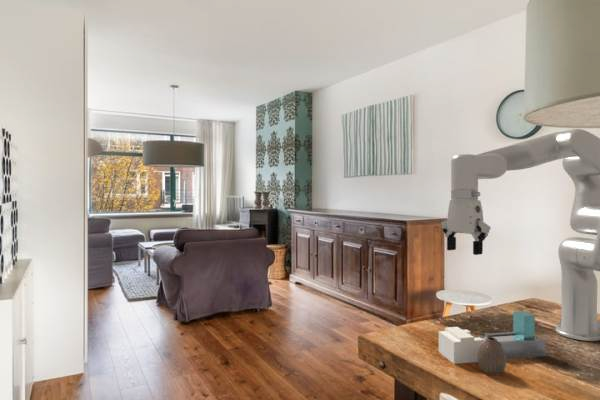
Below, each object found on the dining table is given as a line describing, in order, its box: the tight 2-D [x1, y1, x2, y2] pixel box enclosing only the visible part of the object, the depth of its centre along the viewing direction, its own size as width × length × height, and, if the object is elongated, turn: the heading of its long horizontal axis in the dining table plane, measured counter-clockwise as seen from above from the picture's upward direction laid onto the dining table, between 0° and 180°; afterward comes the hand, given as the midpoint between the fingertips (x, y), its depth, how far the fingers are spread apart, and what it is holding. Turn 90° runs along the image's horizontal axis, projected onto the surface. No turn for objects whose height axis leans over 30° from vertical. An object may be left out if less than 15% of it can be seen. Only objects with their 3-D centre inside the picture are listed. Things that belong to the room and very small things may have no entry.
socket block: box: [438, 326, 484, 365], centre depth 114 cm, size 9×8×7 cm
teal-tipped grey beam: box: [482, 310, 536, 342], centre depth 117 cm, size 14×4×10 cm, turn 99°
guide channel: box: [484, 331, 547, 360], centre depth 117 cm, size 14×8×4 cm, turn 99°
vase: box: [477, 337, 507, 376], centre depth 105 cm, size 7×7×9 cm
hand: (464, 252), depth 122 cm, fingers open, 9 cm apart
